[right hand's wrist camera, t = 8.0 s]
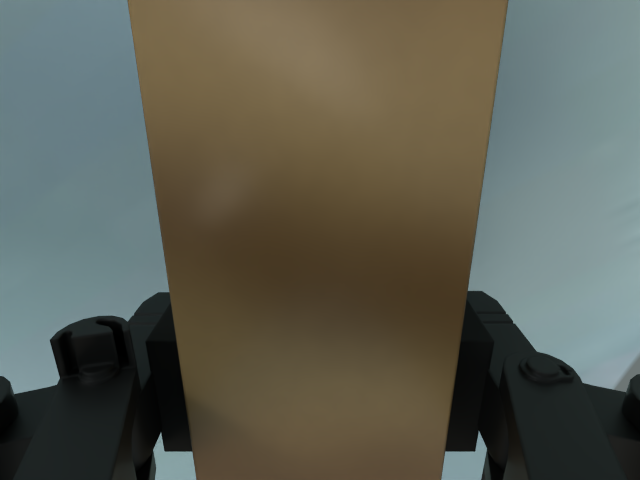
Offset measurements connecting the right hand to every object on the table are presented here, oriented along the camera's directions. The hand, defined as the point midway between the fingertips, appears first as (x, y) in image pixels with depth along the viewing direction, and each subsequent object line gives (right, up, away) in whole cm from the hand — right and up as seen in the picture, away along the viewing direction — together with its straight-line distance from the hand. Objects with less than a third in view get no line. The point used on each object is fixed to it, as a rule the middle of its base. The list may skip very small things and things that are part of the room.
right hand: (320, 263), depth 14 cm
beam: (0, +19, -7) cm, 20 cm away
